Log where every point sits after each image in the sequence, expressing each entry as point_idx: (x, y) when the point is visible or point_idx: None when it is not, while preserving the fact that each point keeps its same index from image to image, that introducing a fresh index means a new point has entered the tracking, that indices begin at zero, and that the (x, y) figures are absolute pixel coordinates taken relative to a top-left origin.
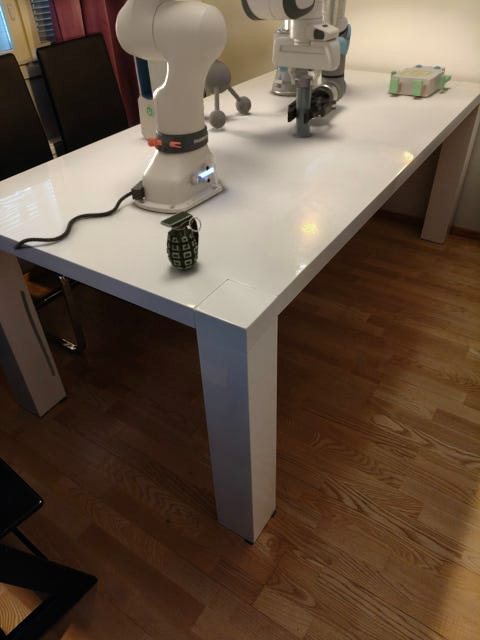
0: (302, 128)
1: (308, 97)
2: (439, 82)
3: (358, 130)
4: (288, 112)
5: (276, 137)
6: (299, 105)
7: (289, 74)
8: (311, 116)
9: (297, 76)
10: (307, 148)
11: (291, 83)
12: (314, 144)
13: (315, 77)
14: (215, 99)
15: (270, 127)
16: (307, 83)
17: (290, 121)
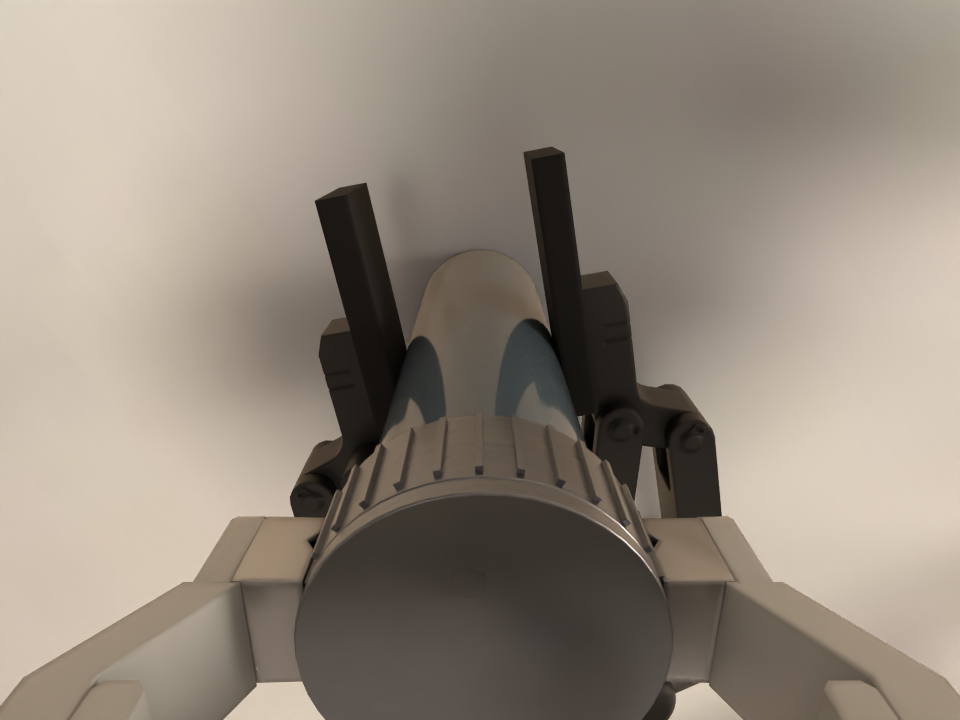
0: (450, 273)
1: (383, 430)
2: None
3: (185, 570)
4: (555, 160)
5: (656, 146)
6: (485, 328)
7: (851, 625)
8: (347, 324)
9: (651, 648)
10: (245, 9)
11: (725, 516)
12: (259, 142)
13: (139, 623)
14: None
15: (828, 355)
16: (342, 505)
17: (526, 170)
